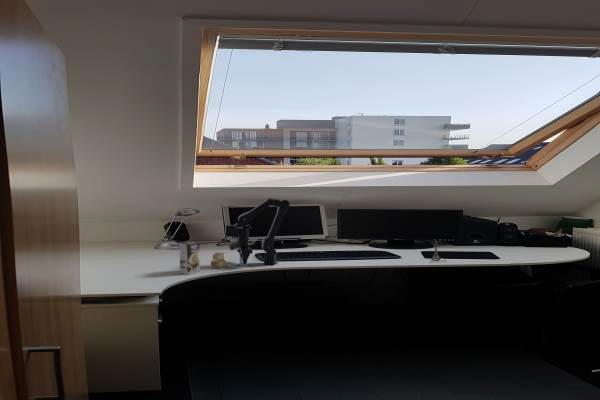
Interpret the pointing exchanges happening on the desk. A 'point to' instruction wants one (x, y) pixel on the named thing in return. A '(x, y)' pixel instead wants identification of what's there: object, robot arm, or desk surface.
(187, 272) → the coffee box
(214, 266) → the base block
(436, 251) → the eiffel tower figurine
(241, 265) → the cylinder
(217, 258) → the top block
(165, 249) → the desk surface
